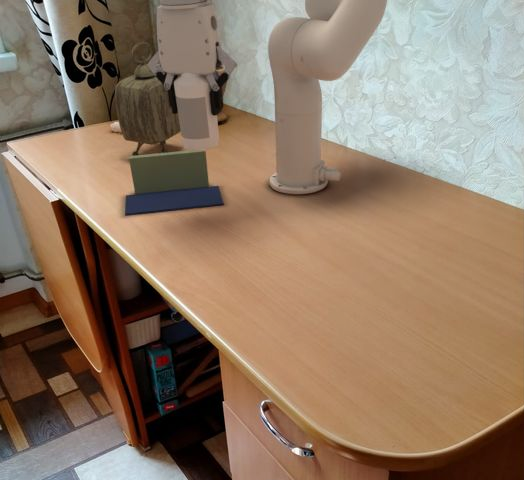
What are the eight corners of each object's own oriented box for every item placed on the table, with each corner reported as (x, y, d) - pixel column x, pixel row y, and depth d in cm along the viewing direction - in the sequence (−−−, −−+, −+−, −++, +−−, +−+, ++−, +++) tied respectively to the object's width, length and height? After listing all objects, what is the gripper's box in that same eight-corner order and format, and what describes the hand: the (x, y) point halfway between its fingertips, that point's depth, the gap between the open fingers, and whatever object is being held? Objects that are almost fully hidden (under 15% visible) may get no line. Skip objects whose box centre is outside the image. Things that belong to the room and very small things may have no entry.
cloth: (223, 205, 118) (223, 203, 118) (125, 215, 116) (124, 213, 115) (218, 187, 125) (218, 185, 125) (126, 196, 123) (125, 195, 123)
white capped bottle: (179, 142, 107) (163, 33, 96) (214, 136, 108) (203, 29, 97) (186, 154, 102) (171, 40, 91) (223, 147, 103) (212, 35, 92)
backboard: (209, 187, 126) (205, 151, 121) (135, 195, 124) (128, 158, 119) (208, 185, 127) (204, 148, 122) (135, 192, 125) (128, 156, 120)
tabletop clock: (162, 142, 152) (147, 36, 136) (189, 147, 148) (177, 38, 133) (125, 159, 142) (104, 47, 127) (153, 165, 138) (135, 50, 123)
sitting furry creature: (139, 123, 166) (132, 79, 159) (155, 129, 161) (148, 83, 153) (110, 131, 162) (101, 85, 154) (125, 137, 156) (116, 90, 149)
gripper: (242, -10, 91) (250, 108, 102) (145, -8, 96) (162, 104, 107) (225, -3, 85) (235, 121, 96) (123, -1, 90) (143, 117, 101)
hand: (197, 111), depth 101 cm, fingers closed on white capped bottle, 6 cm apart
